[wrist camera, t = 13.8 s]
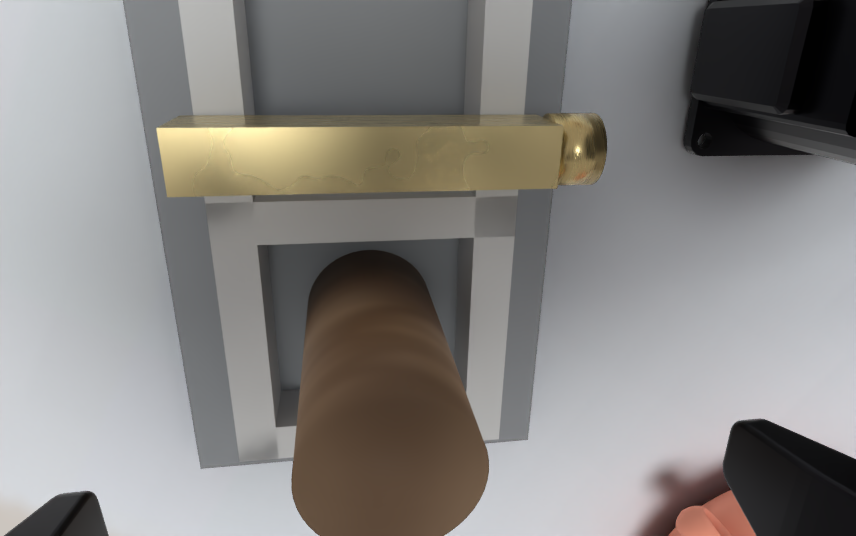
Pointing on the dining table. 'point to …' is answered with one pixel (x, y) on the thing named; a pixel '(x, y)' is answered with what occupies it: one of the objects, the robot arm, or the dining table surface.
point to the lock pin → (378, 153)
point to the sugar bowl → (714, 519)
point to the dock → (346, 194)
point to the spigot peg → (382, 408)
